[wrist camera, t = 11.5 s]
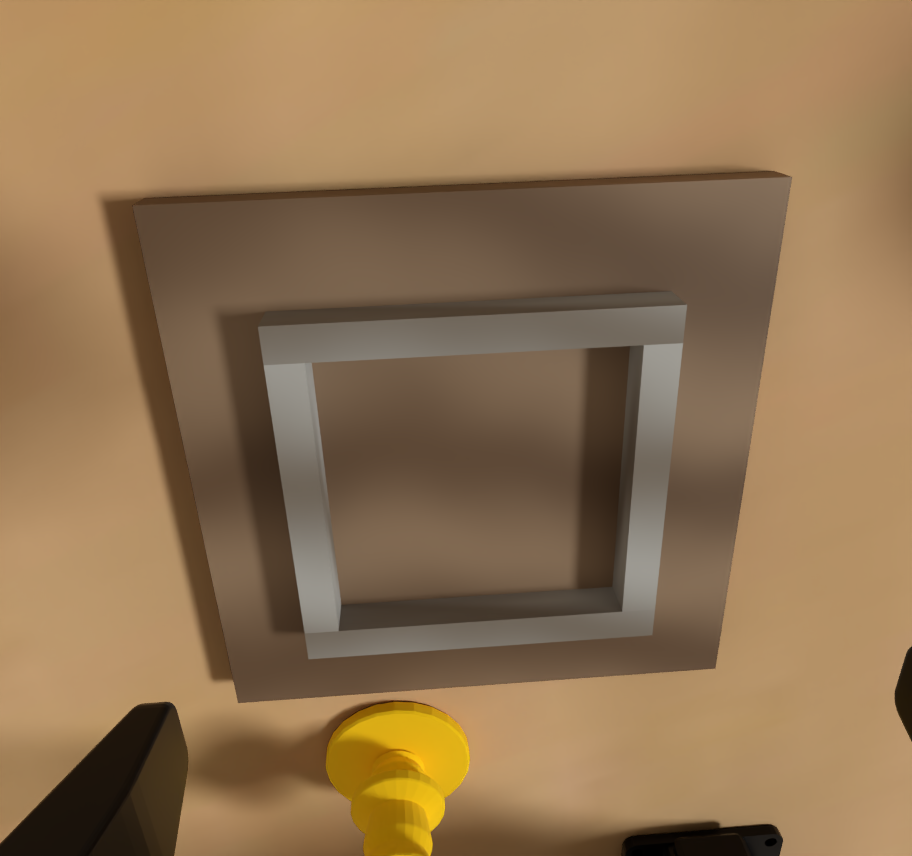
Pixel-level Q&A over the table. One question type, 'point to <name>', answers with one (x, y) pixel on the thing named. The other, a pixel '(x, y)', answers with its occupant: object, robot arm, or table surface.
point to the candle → (397, 773)
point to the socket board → (467, 421)
